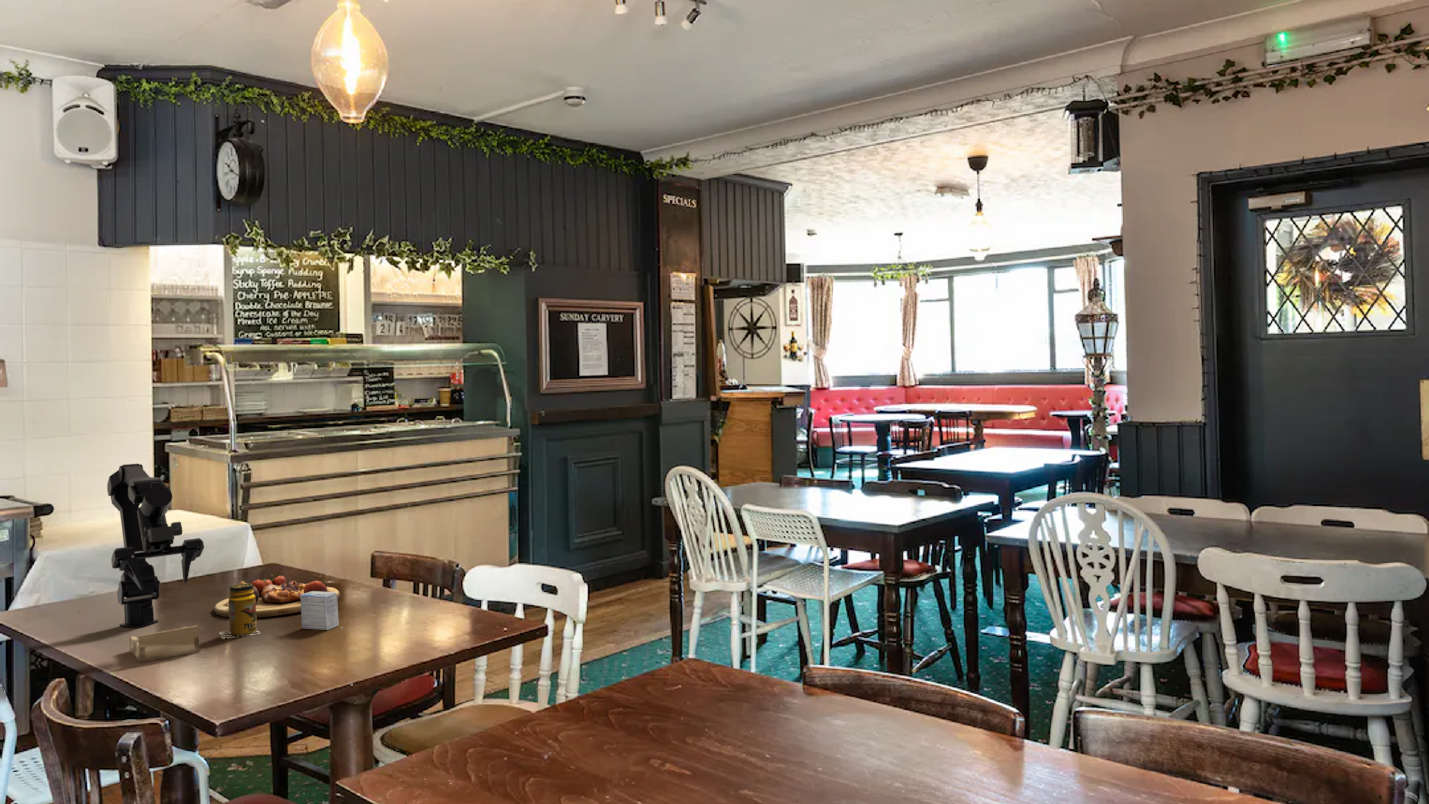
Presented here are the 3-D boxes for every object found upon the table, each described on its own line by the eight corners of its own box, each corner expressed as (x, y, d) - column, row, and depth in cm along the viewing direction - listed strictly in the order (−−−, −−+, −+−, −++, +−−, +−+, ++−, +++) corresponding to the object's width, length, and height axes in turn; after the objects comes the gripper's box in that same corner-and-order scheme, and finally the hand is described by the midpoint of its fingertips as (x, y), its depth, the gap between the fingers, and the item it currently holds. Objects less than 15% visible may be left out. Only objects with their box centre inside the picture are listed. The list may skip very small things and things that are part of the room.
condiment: (260, 634, 242) (258, 585, 241) (222, 640, 237) (220, 591, 236) (255, 627, 248) (253, 580, 247) (218, 633, 243) (216, 585, 243)
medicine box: (339, 626, 247) (337, 592, 247) (326, 630, 243) (325, 596, 242) (313, 624, 249) (312, 590, 249) (301, 628, 245) (299, 594, 245)
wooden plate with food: (364, 599, 277) (362, 570, 277) (259, 624, 250) (258, 592, 250) (295, 590, 294) (293, 563, 294) (190, 613, 268) (189, 583, 267)
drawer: (130, 650, 229) (128, 625, 229) (187, 640, 237) (185, 616, 237) (140, 662, 219) (139, 636, 219) (199, 651, 227) (198, 626, 227)
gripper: (113, 515, 224) (123, 578, 219) (202, 506, 237) (214, 565, 231) (107, 537, 232) (116, 598, 226) (193, 527, 244) (205, 584, 238)
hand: (164, 585), depth 230 cm, fingers open, 9 cm apart
